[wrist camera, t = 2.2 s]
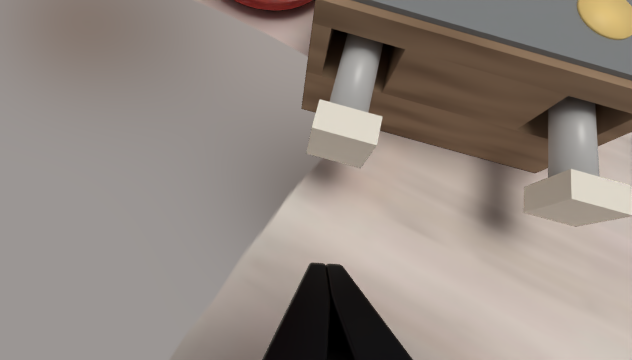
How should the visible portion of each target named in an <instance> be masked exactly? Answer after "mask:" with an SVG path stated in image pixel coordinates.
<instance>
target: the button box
mask: <svg viewBox="0 0 632 360" xmlns="http://www.w3.org/2000/svg"><path fill="white" fill-rule="evenodd" d="M348 33H349V34H353V35H356V36H360V37H363V38H367V39H370V40H374V41H378V42H381V43H383V47H382V52H381V56H380V61H379V66H378V70H377V75H376V79H375V84H374V89H373V93H372V98H371V102H370V107H369V112H368V113H371V114H375V115H379V116H382V122H381V127H380V130H381V131H384V132H388V133H391V134H395V135H399V136H402V137H406V138H410V139H413V140H417V141H421V142H424V143H428V144H431V145H435V146H439V147H442V148H446V149H450V150H453V151H457V152H460V153H464V154H468V155H471V156H475V157H479V158H482V159H486V160H489V161H493V162H497V163H500V164H504V165H508V166H511V167H515V168H518V169H522V170H526V171H529V172H533V173H537V172H539V171H542V170H544V169H546V168H548V109H549V108H550V107H552V106H553V105H555V104H557V103H558V102H560V101H561V100H563V99H564V98H566V97H567V96H571V97H575V98H578V99H582V100H585V101H589V102H592V103H595V109H596V126H597V143H598V146H600V145H602V144H604V143H607V142H609V141H611V140H614V139H616V138H618V137H621V136H623V135H625V134H628V133H630V132H632V81H631V80H628V79H624V78H621V77H617V76H614V75H610V74H607V73H603V72H600V71H596V70H593V69H589V68H586V67H582V66H579V65H575V64H572V63H568V62H565V61H561V60H558V59H554V58H551V57H547V56H544V55H540V54H537V53H533V52H530V51H527V50H523V49H520V48H516V47H513V46H509V45H506V44H502V43H499V42H495V41H492V40H488V39H485V38H481V37H478V36H474V35H471V34H467V33H464V32H460V31H457V30H453V29H450V28H446V27H443V26H439V25H436V24H432V23H429V22H425V21H422V20H418V19H415V18H411V17H408V16H405V15H401V14H398V13H394V12H391V11H387V10H384V9H380V8H377V7H373V6H370V5H366V4H363V3H359V2H356V1H352V0H315V8H314V16H313V23H312V31H311V39H310V47H309V54H308V62H307V70H306V78H305V85H304V93H303V101H302V109H304V110H308V111H312V112H315V113H316V110H317V107H318V103H319V100H320V99H321V100H325V101H328V102H329V101H330V98H331V94H332V90H333V86H334V83H335V79H336V75H337V72H338V68H339V64H340V60H341V57H342V53H343V49H344V45H345V42H346V38H347V34H348Z"/></svg>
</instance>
